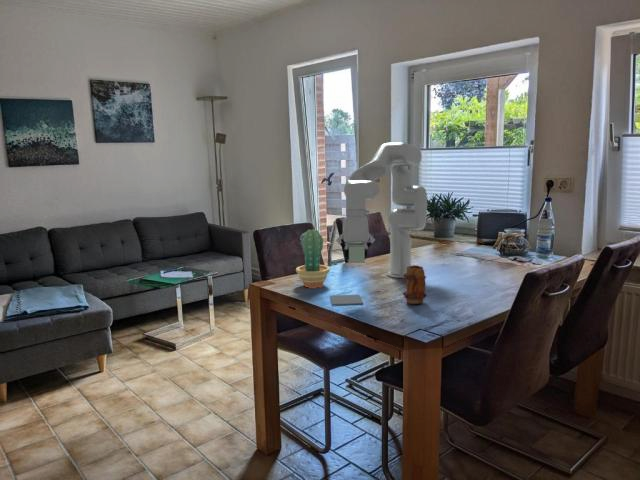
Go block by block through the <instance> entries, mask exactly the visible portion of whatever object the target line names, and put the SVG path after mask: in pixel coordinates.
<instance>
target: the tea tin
mask: <svg viewBox="0 0 640 480" xmlns="http://www.w3.org/2000/svg"><path fill="white" fill-rule="evenodd" d="M348 250H349V259H348V260H347V262H348V264H361V263H363V264H364V263H365V262H366V261H365V260H366V259H365V244H363V243H362V242H360V243H350V244H348Z"/></svg>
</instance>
